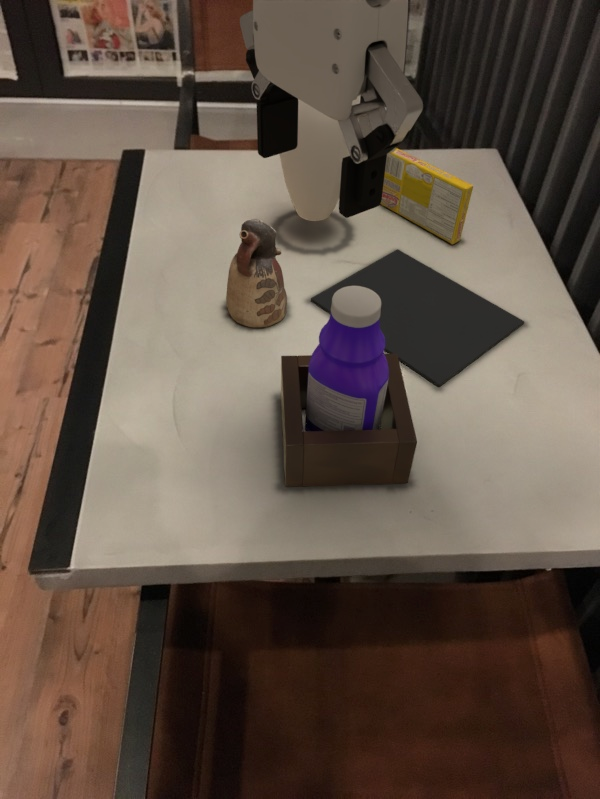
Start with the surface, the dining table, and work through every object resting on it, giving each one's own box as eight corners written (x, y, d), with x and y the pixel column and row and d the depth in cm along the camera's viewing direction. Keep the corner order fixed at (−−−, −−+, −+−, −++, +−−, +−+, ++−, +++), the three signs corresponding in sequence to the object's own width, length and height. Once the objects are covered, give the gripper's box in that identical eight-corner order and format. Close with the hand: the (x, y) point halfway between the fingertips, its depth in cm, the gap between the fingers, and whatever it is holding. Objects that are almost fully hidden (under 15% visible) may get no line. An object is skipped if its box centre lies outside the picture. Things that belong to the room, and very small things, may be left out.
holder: (390, 395, 73) (397, 353, 68) (407, 483, 65) (417, 442, 60) (281, 397, 72) (281, 355, 68) (285, 486, 64) (285, 445, 60)
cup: (323, 203, 99) (331, 45, 84) (365, 238, 93) (383, 74, 78) (261, 223, 95) (258, 61, 80) (301, 260, 89) (306, 93, 74)
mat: (523, 323, 81) (524, 321, 81) (438, 387, 74) (439, 384, 73) (397, 251, 91) (397, 249, 91) (310, 300, 83) (310, 298, 83)
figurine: (298, 305, 83) (300, 217, 74) (263, 336, 79) (262, 247, 70) (251, 284, 85) (248, 197, 77) (215, 313, 81) (207, 225, 73)
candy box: (462, 240, 94) (475, 184, 88) (452, 246, 92) (464, 190, 87) (377, 193, 102) (383, 139, 96) (367, 197, 101) (373, 143, 95)
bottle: (386, 435, 69) (411, 296, 56) (359, 472, 65) (379, 334, 53) (324, 406, 71) (334, 267, 59) (295, 441, 68) (299, 301, 55)
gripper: (500, -99, 33) (440, 219, 45) (293, -152, 42) (290, 122, 55) (379, -81, 29) (350, 255, 42) (185, -142, 39) (208, 145, 51)
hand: (316, 179), depth 48 cm, fingers open, 9 cm apart
